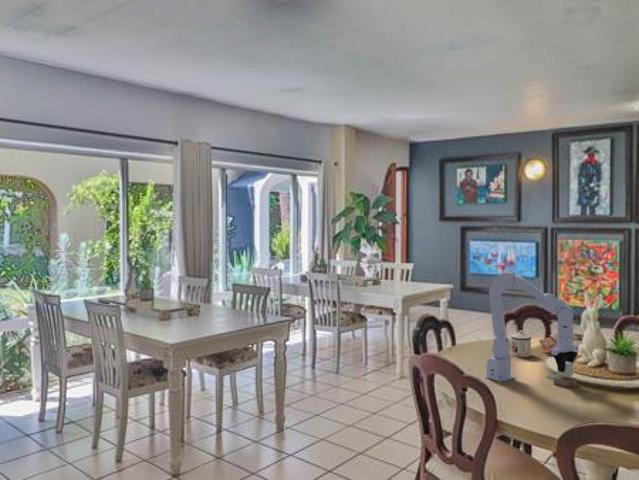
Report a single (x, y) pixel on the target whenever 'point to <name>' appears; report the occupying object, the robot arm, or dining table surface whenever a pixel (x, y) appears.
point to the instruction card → (552, 376)
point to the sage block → (566, 369)
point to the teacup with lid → (521, 344)
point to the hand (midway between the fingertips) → (564, 370)
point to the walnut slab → (565, 381)
